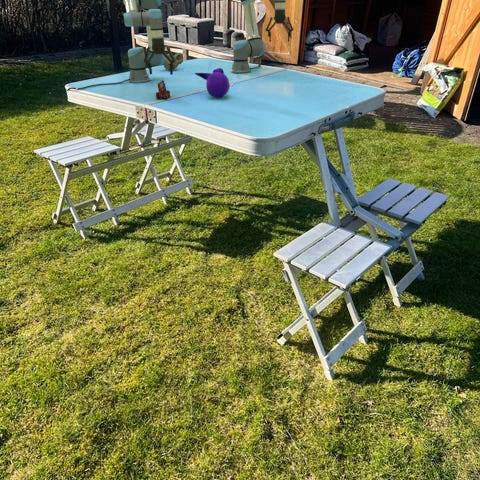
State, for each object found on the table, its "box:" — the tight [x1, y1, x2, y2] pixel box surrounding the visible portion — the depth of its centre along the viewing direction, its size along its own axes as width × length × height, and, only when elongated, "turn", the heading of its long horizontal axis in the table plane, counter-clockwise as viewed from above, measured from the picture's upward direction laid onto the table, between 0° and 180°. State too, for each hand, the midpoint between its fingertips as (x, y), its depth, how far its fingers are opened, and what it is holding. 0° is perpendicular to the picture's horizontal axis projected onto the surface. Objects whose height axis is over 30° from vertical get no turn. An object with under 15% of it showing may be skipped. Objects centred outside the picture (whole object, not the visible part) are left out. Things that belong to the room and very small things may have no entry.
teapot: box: [162, 52, 184, 72], centre depth 373 cm, size 21×12×15 cm, turn 120°
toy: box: [195, 67, 230, 99], centre depth 289 cm, size 16×18×27 cm
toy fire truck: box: [155, 79, 171, 100], centre depth 288 cm, size 7×12×10 cm, turn 170°
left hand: (161, 74), depth 283 cm, fingers open, 13 cm apart
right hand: (279, 41), depth 330 cm, fingers open, 13 cm apart
